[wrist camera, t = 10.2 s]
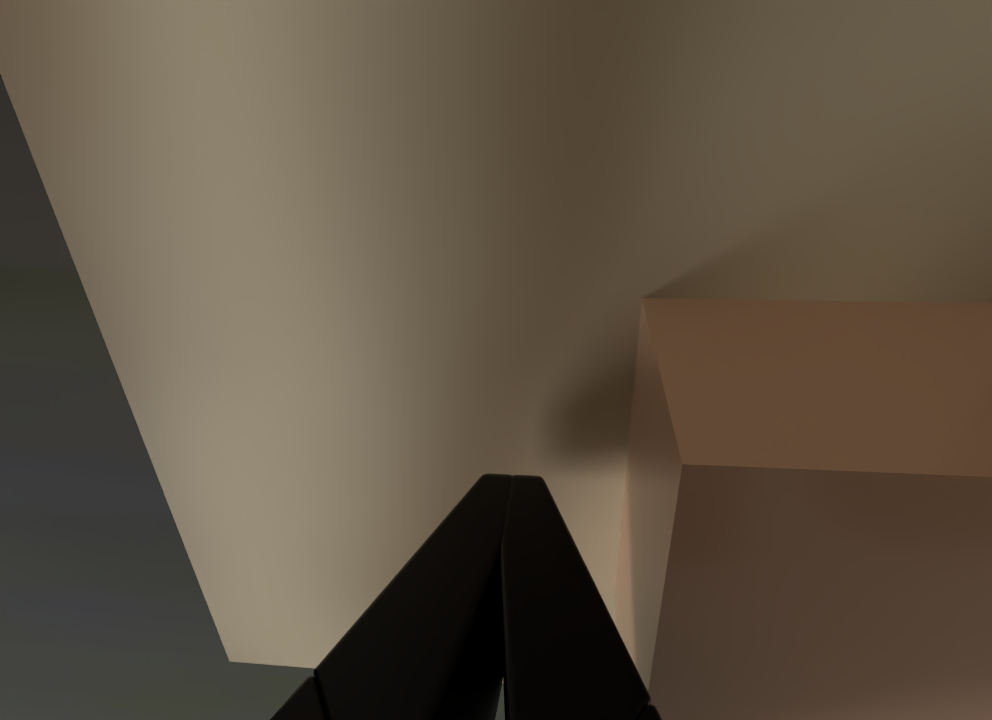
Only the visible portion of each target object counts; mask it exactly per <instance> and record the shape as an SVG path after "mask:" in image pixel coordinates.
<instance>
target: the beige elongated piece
mask: <svg viewBox="0 0 992 720" xmlns="http://www.w3.org/2000/svg"><path fill="white" fill-rule="evenodd" d="M0 74H1V76H2V79H3V82H4V84H5V87H6V89H7V92H8V94H9V97H10V100H11V102H12V105H13V107H14V110H15V112H16V115H17V117H18V120H19V123H20V125H21V128H22V130H23V133H24V135H25V138H26V141H27V143H28V146H29V148H30V151H31V153H32V156H33V158H34V161H35V164H36V166H37V169H38V171H39V174H40V176H41V179H42V182H43V184H44V187H45V189H46V192H47V194H48V197H49V199H50V202H51V205H52V207H53V210H54V212H55V215H56V217H57V220H58V223H59V225H60V228H61V230H62V233H63V235H64V238H65V240H66V243H67V246H68V248H69V251H70V253H71V256H72V258H73V261H74V264H75V266H76V269H77V271H78V274H79V276H80V279H81V281H82V284H83V287H84V289H85V292H86V294H87V297H88V299H89V302H90V305H91V307H92V310H93V312H94V315H95V317H96V320H97V323H98V325H99V328H100V330H101V333H102V335H103V338H104V340H105V343H106V346H107V348H108V351H109V353H110V356H111V358H112V361H113V364H114V366H115V369H116V371H117V374H118V376H119V379H120V381H121V384H122V387H123V389H124V392H125V394H126V397H127V399H128V402H129V405H130V407H131V410H132V412H133V415H134V417H135V420H136V422H137V425H138V428H139V430H140V433H141V435H142V438H143V440H144V443H145V446H146V448H147V451H148V453H149V456H150V458H151V461H152V463H153V466H154V469H155V471H156V474H157V476H158V479H159V481H160V484H161V487H162V489H163V492H164V494H165V497H166V499H167V502H168V504H169V507H170V510H171V512H172V515H173V517H174V520H175V522H176V525H177V528H178V530H179V533H180V535H181V538H182V540H183V543H184V546H185V548H186V551H187V553H188V556H189V558H190V561H191V563H192V566H193V569H194V571H195V574H196V576H197V579H198V581H199V584H200V587H201V589H202V592H203V594H204V597H205V599H206V602H207V604H208V607H209V610H210V612H211V615H212V617H213V620H214V622H215V625H216V628H217V630H218V633H219V635H220V638H221V640H222V643H223V645H224V648H225V651H226V653H227V656H228V658H229V661H231V662H244V663H256V664H268V665H281V666H293V667H305V668H316V667H317V666H318V665H319V664H320V662H321V661H322V660H323V659H324V658H325V657H326V655H327V654H328V653H329V652H330V651H331V650H332V648H333V647H334V646H335V645H336V644H337V643H338V641H339V640H340V639H341V638H342V637H343V636H344V635H345V633H346V632H347V631H348V630H349V629H350V628H351V626H352V625H353V624H354V623H355V622H356V621H357V619H358V618H359V617H360V616H361V615H362V614H363V613H364V611H365V610H366V609H367V608H368V607H369V606H370V604H371V603H372V602H373V601H374V600H375V599H376V597H377V596H378V595H379V594H380V593H381V592H382V591H383V589H384V588H385V587H386V586H387V585H388V584H389V582H390V581H391V580H392V579H393V578H394V577H395V575H396V574H397V573H398V572H399V571H400V570H401V568H402V567H403V566H404V565H405V564H406V563H407V562H408V560H409V559H410V558H411V557H412V556H413V555H414V553H415V552H416V551H417V550H418V549H419V548H420V546H421V545H422V544H423V543H424V542H425V541H426V539H427V538H428V537H429V536H430V535H431V534H432V533H433V531H434V530H435V529H436V528H437V527H438V526H439V524H440V523H441V522H442V521H443V520H444V519H445V517H446V516H447V515H448V514H449V513H450V512H451V511H452V509H453V508H454V507H455V506H456V505H457V504H458V502H459V501H460V500H461V499H462V498H463V497H464V495H465V494H466V493H467V492H468V491H469V490H470V488H471V487H472V486H473V485H474V484H475V483H476V482H477V480H478V479H479V478H480V477H481V476H482V475H484V474H487V473H491V474H510V475H534V476H541V477H542V478H543V479H544V480H545V482H546V484H547V486H548V488H549V490H550V492H551V494H552V496H553V498H554V501H555V503H556V505H557V507H558V509H559V511H560V513H561V515H562V517H563V519H564V521H565V523H566V525H567V527H568V529H569V531H570V533H571V535H572V537H573V539H574V541H575V544H576V546H577V548H578V550H579V552H580V554H581V556H582V558H583V560H584V562H585V564H586V566H587V568H588V570H589V572H590V574H591V576H592V578H593V580H594V582H595V584H596V587H597V589H598V591H599V593H600V595H601V597H602V599H603V601H604V603H605V605H606V607H607V609H608V611H609V613H610V615H611V617H612V619H613V621H614V623H615V625H616V627H617V623H616V609H615V596H614V592H615V581H616V570H617V559H618V549H619V538H620V527H621V517H622V506H623V495H624V484H625V474H626V463H627V452H628V441H629V431H630V420H631V409H632V399H633V388H634V377H635V366H636V356H637V345H638V334H639V324H640V313H641V302H642V298H677V299H743V300H810V301H876V302H943V303H992V0H0ZM502 684H504V682H503V681H502Z"/></svg>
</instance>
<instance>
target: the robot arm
mask: <svg viewBox="0 0 992 720" xmlns="http://www.w3.org/2000/svg"><path fill="white" fill-rule="evenodd" d="M314 677H315V678H314ZM314 677H313V676H308V677H307V678H306V679H305V680H304V681H303V683H302V684H301V685H300V686H299V687H298V688H297V690H296V691H295V692H294V693H293V694H292V696H291V697H290V698H289V699H288V700H287V701H286V702H285V704H284V705H283V706H282V707H281V708H280V709H279V710H278V711H277V713H276V714H275V715H274V716H273V717H272V718H271V719H270V720H495V717H496V712H497V707H498V702H499V696H500V691H501V686H502V681H503V682H504V706H505V720H662V719H661V717H660V715H659V713H658V711H657V708H656V707H655V706H654V705H651V697H650V695H649V693H648V691H647V689H646V687H645V685H644V683H643V681H642V679H641V677H640V675H639V672H638V670H637V668H636V666H635V664H634V662H633V660H632V658H631V656H630V654H629V652H628V650H627V648H626V646H625V644H624V642H623V640H622V638H621V636H620V634H619V632H618V630H617V627H616V625H615V623H614V621H613V619H612V617H611V615H610V613H609V611H608V609H607V607H606V605H605V603H604V601H603V599H602V597H601V595H600V593H599V591H598V589H597V587H596V584H595V582H594V580H593V578H592V576H591V574H590V572H589V570H588V568H587V566H586V564H585V562H584V560H583V558H582V556H581V554H580V552H579V550H578V548H577V546H576V544H575V541H574V539H573V537H572V535H571V533H570V531H569V529H568V527H567V525H566V523H565V521H564V519H563V517H562V515H561V513H560V511H559V509H558V507H557V505H556V503H555V501H554V498H553V496H552V494H551V492H550V490H549V488H548V486H547V484H546V482H545V480H544V479H543V478H542V477H541V476H534V475H510V474H491V473H487V474H484V475H482V476H481V477H480V478H479V479H478V480H477V482H476V483H475V484H474V485H473V486H472V487H471V488H470V490H469V491H468V492H467V493H466V494H465V495H464V497H463V498H462V499H461V500H460V501H459V502H458V504H457V505H456V506H455V507H454V508H453V509H452V511H451V512H450V513H449V514H448V515H447V516H446V517H445V519H444V520H443V521H442V522H441V523H440V524H439V526H438V527H437V528H436V529H435V530H434V531H433V533H432V534H431V535H430V536H429V537H428V538H427V539H426V541H425V542H424V543H423V544H422V545H421V546H420V548H419V549H418V550H417V551H416V552H415V553H414V555H413V556H412V557H411V558H410V559H409V560H408V562H407V563H406V564H405V565H404V566H403V567H402V568H401V570H400V571H399V572H398V573H397V574H396V575H395V577H394V578H393V579H392V580H391V581H390V582H389V584H388V585H387V586H386V587H385V588H384V589H383V591H382V592H381V593H380V594H379V595H378V596H377V597H376V599H375V600H374V601H373V602H372V603H371V604H370V606H369V607H368V608H367V609H366V610H365V611H364V613H363V614H362V615H361V616H360V617H359V618H358V619H357V621H356V622H355V623H354V624H353V625H352V626H351V628H350V629H349V630H348V631H347V632H346V633H345V635H344V636H343V637H342V638H341V639H340V640H339V641H338V643H337V644H336V645H335V646H334V647H333V648H332V650H331V651H330V652H329V653H328V654H327V655H326V657H325V658H324V659H323V660H322V661H321V662H320V664H319V665H318V666H317V667H316V668H315V669H314Z"/></svg>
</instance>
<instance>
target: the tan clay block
mask: <svg viewBox="0 0 992 720" xmlns="http://www.w3.org/2000/svg"><path fill="white" fill-rule="evenodd" d="M614 596H615V609H616V623H617V630H618V632H619V634H620V636H621V638H622V640H623V642H624V644H625V646H626V648H627V650H628V652H629V654H630V656H631V658H632V660H633V662H634V664H635V666H636V668H637V670H638V672H639V675H640V677H641V679H642V681H643V683H644V685H645V687H646V689H647V691H648V693H649V695H650V697H651V705H654V706H655V707H656V708H657V711H658V713H659V715H660V717H661V719H662V720H992V303H943V302H876V301H810V300H743V299H677V298H642V302H641V313H640V324H639V334H638V345H637V356H636V366H635V377H634V388H633V399H632V409H631V420H630V431H629V441H628V452H627V463H626V474H625V484H624V495H623V506H622V517H621V527H620V538H619V549H618V559H617V570H616V581H615V592H614Z"/></svg>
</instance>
